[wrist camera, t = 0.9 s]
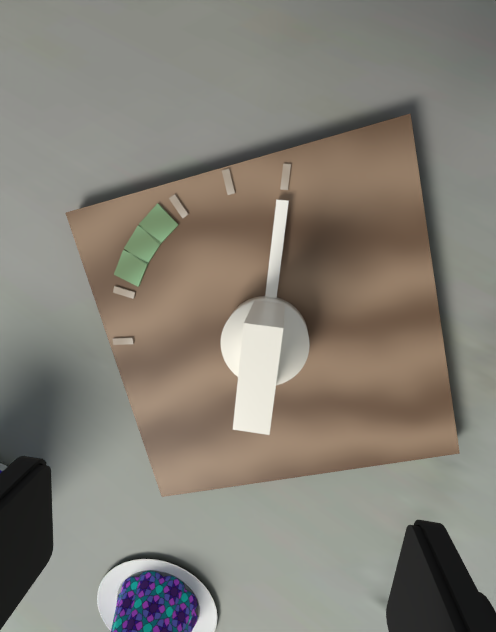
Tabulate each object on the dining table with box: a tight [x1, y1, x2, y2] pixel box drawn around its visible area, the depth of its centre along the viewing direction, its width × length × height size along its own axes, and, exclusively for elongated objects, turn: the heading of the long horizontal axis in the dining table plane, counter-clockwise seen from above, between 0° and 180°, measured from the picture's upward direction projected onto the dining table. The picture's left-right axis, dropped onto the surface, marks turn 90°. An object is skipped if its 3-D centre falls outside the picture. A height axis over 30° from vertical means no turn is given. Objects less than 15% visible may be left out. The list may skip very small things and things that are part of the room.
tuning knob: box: [221, 200, 310, 435], centre depth 22 cm, size 12×6×8 cm, turn 174°
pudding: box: [97, 559, 217, 632], centre depth 34 cm, size 12×12×5 cm
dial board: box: [66, 114, 460, 497], centre depth 28 cm, size 24×24×2 cm
